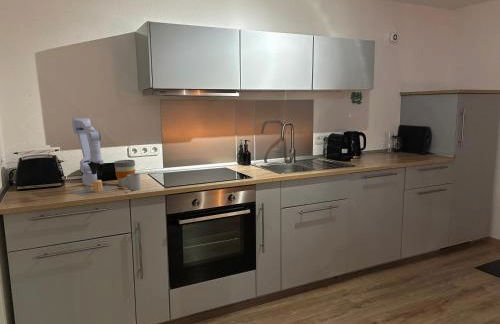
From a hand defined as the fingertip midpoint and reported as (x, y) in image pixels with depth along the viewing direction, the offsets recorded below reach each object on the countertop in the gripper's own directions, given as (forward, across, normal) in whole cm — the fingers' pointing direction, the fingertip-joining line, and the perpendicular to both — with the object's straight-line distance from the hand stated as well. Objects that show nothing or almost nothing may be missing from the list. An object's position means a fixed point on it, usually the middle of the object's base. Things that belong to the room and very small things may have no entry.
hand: (97, 174), depth 217 cm
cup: (+10, +14, +14) cm, 22 cm away
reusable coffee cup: (+10, -2, +19) cm, 21 cm away
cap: (+8, +8, -4) cm, 12 cm away
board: (+9, +4, -4) cm, 11 cm away
